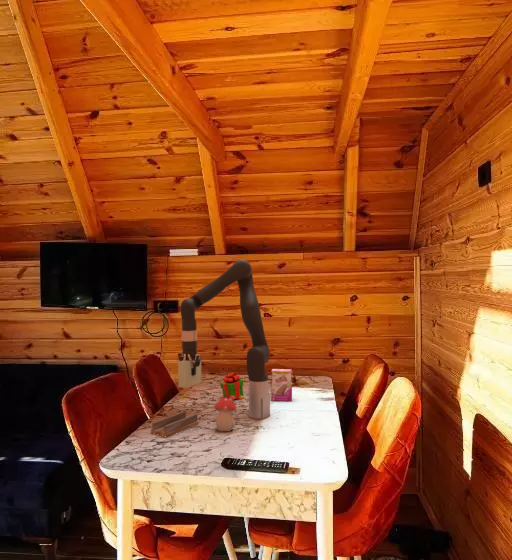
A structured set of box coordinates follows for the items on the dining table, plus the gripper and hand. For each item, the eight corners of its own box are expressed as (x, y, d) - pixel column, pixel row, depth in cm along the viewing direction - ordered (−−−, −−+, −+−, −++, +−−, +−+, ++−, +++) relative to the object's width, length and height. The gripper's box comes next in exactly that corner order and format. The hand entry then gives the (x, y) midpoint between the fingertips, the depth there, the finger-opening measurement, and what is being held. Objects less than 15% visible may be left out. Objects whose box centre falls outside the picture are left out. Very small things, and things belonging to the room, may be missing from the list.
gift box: (211, 401, 228) (208, 376, 228) (238, 392, 241) (234, 367, 240) (234, 407, 213) (230, 380, 213) (260, 396, 226) (257, 370, 225)
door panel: (201, 382, 205) (201, 358, 206) (184, 387, 195) (184, 362, 196) (195, 381, 208) (194, 357, 208) (178, 386, 198) (178, 361, 198)
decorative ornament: (238, 428, 180) (238, 394, 180) (231, 433, 174) (231, 398, 174) (219, 425, 184) (219, 392, 184) (212, 430, 178) (212, 395, 178)
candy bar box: (271, 401, 222) (271, 370, 222) (271, 398, 227) (271, 368, 227) (292, 401, 221) (292, 371, 221) (292, 399, 226) (292, 369, 226)
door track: (198, 424, 186) (198, 414, 186) (167, 437, 170) (167, 426, 170) (182, 420, 191) (182, 410, 191) (150, 433, 176) (150, 422, 176)
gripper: (205, 339, 201) (206, 375, 201) (184, 337, 209) (184, 372, 209) (195, 341, 195) (195, 378, 194) (173, 339, 203) (173, 374, 202)
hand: (189, 374), depth 202 cm, fingers closed on door panel, 4 cm apart
